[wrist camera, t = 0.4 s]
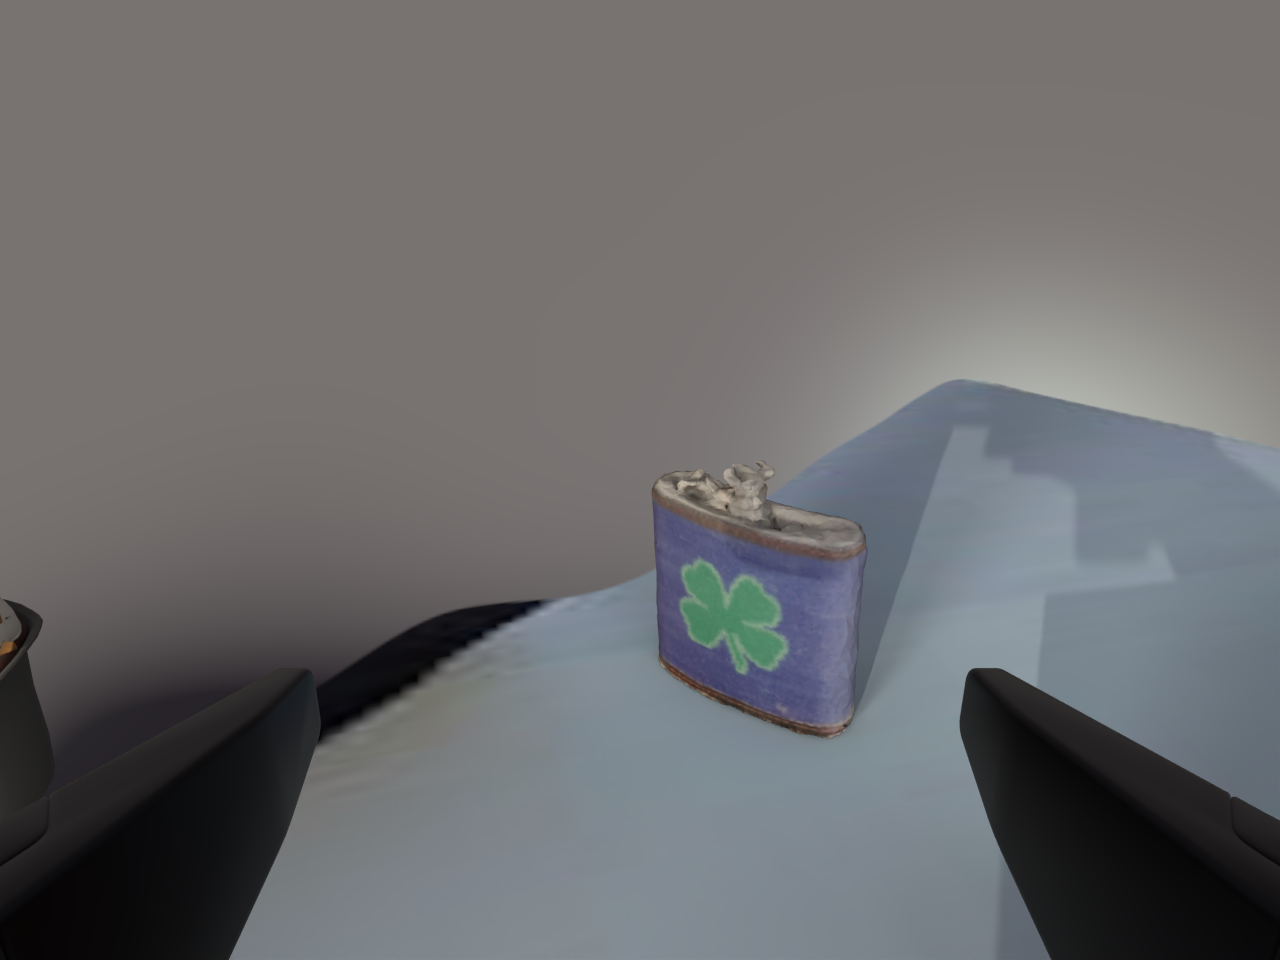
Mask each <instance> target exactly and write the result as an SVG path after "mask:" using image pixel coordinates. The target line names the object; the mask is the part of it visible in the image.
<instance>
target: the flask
mask: <svg viewBox="0 0 1280 960" xmlns="http://www.w3.org/2000/svg"><path fill="white" fill-rule="evenodd" d="M756 463H757V464H758V465H759V466H760V467H761V469H759V470H756V469H754V468H751V467H749V466H747V465H744V464H740V465H733V469H734V471H733V469H726V470H725V472H724V478H725V480H726V481H727V482H728V483H729V484H727V485H725V484H723V483H722V482H720V481H719V480H715V479H714V478H712V477H711V476H710V475H709V474H706V473H705V470H704V469H698V470H696V471H694V472H693V471H684V472H681V471H675V472H672V473H669V474H664V475H663V476H662V477H661V478H659V479H657V481H656V482H655V484H654V486H653V488H652V499H653V513H654V535H655V543H654V544H655V556H656V569H657V610H658V615H657V619H658V633H659V661H660V663H661V665H662V667H663V668H665V669H667V671H668V672H669V673H670V674H671V675H672V676H673V677H676V678H677V679H679V680H680V681H682V682H684V683H685V684H687V685H688V686H689V687H690V688H692V689H696V690H697V691H699V692H700V693H701V694H702V695H706V696H707V697H708V698H710V699H714V700H717V701H719V702H720V703H722V704H725V705H731V706H732V707H736V708H737V709H739V710H740V711H742V712H743V713H747V714H750V715H753V716H755V717H757V718H761V719H762V720H764V721H769V722H770V723H773V724H775V725H780V726H781V727H786V728H788V729H789V730H792V731H793V732H797V733H799V734H801V733H803V734H811V735H815V736H818V737H819V736H820V737H822V738H823V737H824V736H826V737H828V738H832V737H833V736H835V735H839V734H841V733H842V732H844V731H845V729H846V728H847V727H848V726H846V727H843V725H845V724H846V725H847V724H850V722H851V720H852V718H853V714H854V711H855V708H854V700H855V669H856V663H857V655H858V623H859V616H860V607H861V593H862V583H863V571H864V567H865V563H866V557H867V552H868V550H867V547H866V538H865V534H864V533H863V531H862V527H861V526H860V525H859V524H857V523H855V522H853V521H851V520H849V519H845V518H842V517H837V516H830V515H825V514H821V513H817V512H810V511H805V510H803V509H800V508H795V507H792V506H786V505H782V504H779V503H776V502H773V501H769V500H766V494H767V485H766V484H765V483H764V481H766V480H768V479H770V478H772V477H773V476H774V472H775V470H774V468H773V467H771V466H769V465H767V464H766V462H765V461H757V462H756ZM734 472H735V473H734Z"/></svg>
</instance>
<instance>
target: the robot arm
mask: <svg viewBox="0 0 1280 960" xmlns="http://www.w3.org/2000/svg"><path fill="white" fill-rule="evenodd" d="M319 733H320V714H319V708H318V701H317V695H316V688H315V682H314V677H313V675H312V672H311V671H310V670H308V669H306V668H281V669H278V670H276V671H274V672H272V673H270V674H268V675H266V676H265V677H263V678H261V679H259V680H257V681H255V682H254V683H252V684H250V685H248V686H246V687H244V688H243V689H241V690H239V691H237V692H235V693H233V694H232V695H230V696H228V697H226V698H224V699H223V700H221V701H219V702H217V703H215V704H213V705H212V706H210V707H208V708H206V709H204V710H202V711H201V712H199V713H197V714H195V715H193V716H191V717H190V718H188V719H186V720H184V721H182V722H180V723H179V724H177V725H175V726H173V727H171V728H169V729H168V730H166V731H164V732H162V733H160V734H159V735H157V736H155V737H153V738H151V739H149V740H147V741H146V742H144V743H142V744H140V745H138V746H136V747H135V748H133V749H131V750H129V751H127V752H126V753H124V754H122V755H120V756H118V757H116V758H115V759H113V760H111V761H109V762H107V763H105V764H104V765H102V766H100V767H98V768H96V769H94V770H93V771H91V772H89V773H87V774H85V775H83V776H82V777H80V778H78V779H76V780H74V781H72V782H71V783H69V784H67V785H65V786H63V787H62V788H60V789H58V790H56V791H54V792H52V793H51V794H50V798H48V797H43V798H41V799H39V800H37V801H36V802H34V803H32V804H30V805H28V806H27V807H25V808H23V809H21V810H19V811H17V812H16V813H14V814H12V815H10V816H8V817H6V818H4V819H2V820H0V960H229V958H230V956H231V954H232V952H233V950H234V947H235V945H236V943H237V941H238V939H239V937H240V934H241V932H242V930H243V928H244V926H245V924H246V921H247V919H248V917H249V915H250V913H251V911H252V908H253V906H254V904H255V902H256V900H257V898H258V895H259V893H260V891H261V889H262V887H263V885H264V882H265V880H266V878H267V876H268V874H269V872H270V869H271V867H272V865H273V863H274V861H275V859H276V856H277V854H278V852H279V850H280V848H281V845H282V843H283V841H284V838H285V836H286V833H287V831H288V828H289V825H290V822H291V820H292V817H293V814H294V811H295V807H296V804H297V801H298V798H299V795H300V792H301V789H302V786H303V783H304V780H305V777H306V774H307V771H308V768H309V765H310V762H311V759H312V756H313V753H314V750H315V747H316V744H317V741H318V737H319ZM960 733H961V737H962V741H963V744H964V747H965V750H966V753H967V756H968V759H969V762H970V765H971V768H972V771H973V774H974V777H975V780H976V783H977V786H978V789H979V792H980V795H981V798H982V801H983V804H984V807H985V811H986V814H987V817H988V820H989V822H990V825H991V828H992V831H993V833H994V836H995V838H996V841H997V843H998V845H999V848H1000V850H1001V852H1002V854H1003V856H1004V859H1005V861H1006V863H1007V865H1008V867H1009V869H1010V872H1011V874H1012V876H1013V878H1014V880H1015V882H1016V885H1017V887H1018V889H1019V891H1020V893H1021V895H1022V898H1023V900H1024V902H1025V904H1026V906H1027V908H1028V911H1029V913H1030V915H1031V917H1032V919H1033V921H1034V924H1035V926H1036V928H1037V930H1038V932H1039V934H1040V937H1041V939H1042V941H1043V943H1044V945H1045V947H1046V950H1047V952H1048V954H1049V956H1050V958H1051V960H1280V820H1278V819H1276V818H1274V817H1272V816H1270V815H1268V814H1266V813H1264V812H1263V811H1261V810H1259V809H1257V808H1255V807H1254V806H1252V805H1250V804H1248V803H1246V802H1244V801H1243V800H1241V799H1239V798H1237V797H1232V798H1230V794H1229V793H1228V792H1226V791H1224V790H1222V789H1220V788H1219V787H1217V786H1215V785H1213V784H1211V783H1209V782H1208V781H1206V780H1204V779H1202V778H1200V777H1198V776H1197V775H1195V774H1193V773H1191V772H1189V771H1187V770H1186V769H1184V768H1182V767H1180V766H1178V765H1176V764H1175V763H1173V762H1171V761H1169V760H1167V759H1165V758H1164V757H1162V756H1160V755H1158V754H1156V753H1155V752H1153V751H1151V750H1149V749H1147V748H1145V747H1144V746H1142V745H1140V744H1138V743H1136V742H1134V741H1133V740H1131V739H1129V738H1127V737H1125V736H1123V735H1122V734H1120V733H1118V732H1116V731H1114V730H1112V729H1111V728H1109V727H1107V726H1105V725H1103V724H1101V723H1100V722H1098V721H1096V720H1094V719H1092V718H1090V717H1089V716H1087V715H1085V714H1083V713H1081V712H1079V711H1078V710H1076V709H1074V708H1072V707H1070V706H1068V705H1067V704H1065V703H1063V702H1061V701H1059V700H1058V699H1056V698H1054V697H1052V696H1050V695H1048V694H1047V693H1045V692H1043V691H1041V690H1039V689H1037V688H1036V687H1034V686H1032V685H1030V684H1028V683H1026V682H1025V681H1023V680H1021V679H1019V678H1017V677H1015V676H1014V675H1012V674H1010V673H1008V672H1006V671H1004V670H1002V669H999V668H974V669H972V670H970V671H969V672H968V675H967V677H966V682H965V688H964V695H963V701H962V708H961V714H960Z"/></svg>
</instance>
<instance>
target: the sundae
mask: <svg viewBox="0 0 1280 960" xmlns="http://www.w3.org/2000/svg"><path fill="white" fill-rule="evenodd" d="M42 623H43V620H42V618H41V617H40V615H38V614H37V613H36V612H34V611H33V610H31V609H29V608H27V607H25V606H23V605H22V604H19V603H15V602H12V601H8V600H4V599H1V598H0V820H2V819H4V818H6V817H8V816H10V815H12V814H14V813H16V812H17V811H19V810H21V809H23V808H25V807H27V806H28V805H30V804H32V803H34V802H36V801H37V800H39V799H41V798H42V797H43V795H44V793H45V791H46V789H47V787H48V785H49V783H50V782H51V779H52V777H53V773H54V759H53V754H52V748H51V742H50V736H49V732H48V729H47V725H46V722H45V719H44V716H43V713H42V710H41V706H40V703H39V700H38V697H37V694H36V690H35V687H34V684H33V679H32V674H31V669H30V664H29V659H28V654H27V651H28V649H29V648H30V646H31V645H32V644H33V642H34V641H35V640H36V638H37V637H38V634H39V632H40V630H41V627H42Z"/></svg>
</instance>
